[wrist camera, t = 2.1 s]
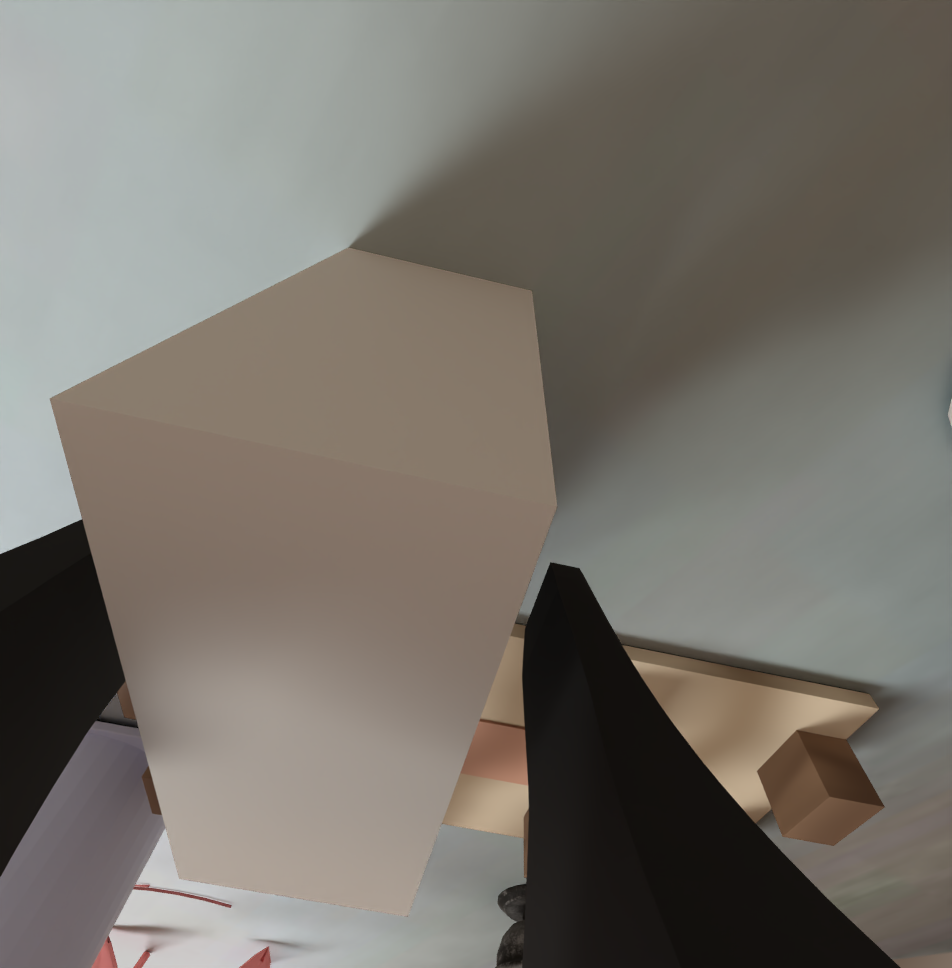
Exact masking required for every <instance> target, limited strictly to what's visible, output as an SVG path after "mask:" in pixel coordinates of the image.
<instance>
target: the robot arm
mask: <svg viewBox="0 0 952 968" xmlns="http://www.w3.org/2000/svg"><path fill="white" fill-rule="evenodd" d="M125 681H126V679H125V676H124V672H123V668H122V665H121V661H120V657H119V653H118V650H117V646H116V642H115V639H114V635H113V631H112V627H111V624H110V620H109V616H108V613H107V609H106V605H105V601H104V598H103V594H102V590H101V587H100V583H99V579H98V576H97V572H96V568H95V564H94V561H93V557H92V553H91V550H90V546H89V542H88V538H87V535H86V531H85V527H84V524H83V520H79V521H77V522H75V523H73V524H70V525H68V526H66V527H64V528H61V529H59V530H57V531H55V532H52V533H50V534H48V535H46V536H43V537H41V538H39V539H36V540H34V541H31V542H29V543H26V544H24V545H21V546H19V547H17V548H14V549H12V550H9V551H7V552H4V553H2V554H0V968H91V967H92V966H93V964H94V962H95V960H96V958H97V956H98V954H99V952H100V950H101V949H102V947H103V945H104V943H105V941H106V939H107V937H108V935H109V933H110V932H111V930H112V928H113V926H114V924H115V922H116V920H117V918H118V916H119V914H120V913H121V911H122V909H123V907H124V905H125V903H126V901H127V899H128V897H129V896H130V894H131V892H132V890H133V888H134V886H135V884H136V882H137V880H138V878H139V877H140V875H141V873H142V871H143V869H144V867H145V865H146V863H147V861H148V860H149V858H150V856H151V854H152V852H153V850H154V848H155V846H156V844H157V843H158V841H159V839H160V837H161V835H162V833H163V831H164V829H165V824H164V820H163V817H162V815H157V814H152V811H151V808H150V804H149V801H148V797H147V794H146V790H145V787H144V783H143V780H142V775H143V774H144V772H145V771H146V769H147V767H148V766H149V765H148V761H147V757H146V754H145V750H144V746H143V742H142V739H141V735H140V731H139V728H133V727H128V726H122V725H116V724H111V723H105V722H100V721H96V720H97V718H98V717H99V716H100V714H101V713H102V711H103V710H104V709H105V707H106V706H107V705H108V703H109V702H110V701H111V699H112V698H113V697H114V696H115V694H116V693H117V692H118V690H119V689H120V688H121V686H122V685H123V684H124V682H125ZM522 687H523V705H524V723H525V740H526V757H527V774H528V799H529V823H528V855H527V882H526V904H525V926H524V944H523V961H522V968H900V967H899V966H898V965H897V964H896V963H895V962H894V961H893V960H892V959H891V958H890V957H889V956H888V955H887V954H885V953H884V952H883V951H882V950H881V949H880V948H879V947H878V946H877V945H876V944H875V943H874V942H873V941H872V940H871V939H870V938H868V937H867V936H866V935H865V934H864V933H863V932H862V931H861V930H860V929H859V928H858V927H857V926H856V925H855V924H854V923H853V922H852V921H850V920H849V919H848V918H847V917H846V916H845V915H844V914H843V913H842V912H841V911H840V910H839V909H838V908H837V907H836V906H835V905H833V904H832V903H831V902H830V901H829V900H828V899H827V898H826V897H825V896H824V895H823V894H822V893H821V892H820V891H819V890H818V888H817V887H816V886H815V885H814V884H813V883H812V882H811V881H810V880H809V879H808V878H807V877H806V876H805V875H804V874H803V873H802V872H801V871H800V870H799V869H798V868H797V867H796V866H795V865H794V864H793V863H792V862H791V861H790V860H789V859H788V858H787V857H786V856H785V855H784V854H783V853H782V852H781V850H780V849H779V848H778V847H777V846H776V845H775V844H774V843H773V842H772V841H771V840H770V839H769V838H768V836H767V835H766V834H765V833H764V832H763V831H762V830H761V829H760V828H759V827H758V826H757V825H756V823H755V822H754V821H753V820H752V819H751V818H750V817H749V816H748V814H747V813H746V812H745V811H744V810H743V809H742V807H741V806H740V805H739V804H738V803H737V802H736V801H735V799H734V798H733V797H732V796H731V795H730V794H729V793H728V791H727V790H726V789H725V788H724V787H723V786H722V785H721V783H720V782H719V781H718V780H717V779H716V777H715V776H714V775H713V774H712V772H711V771H710V770H709V769H708V768H707V766H706V765H705V764H704V763H703V761H702V760H701V759H700V758H699V756H698V755H697V754H696V752H695V751H694V750H693V749H692V747H691V746H690V745H689V743H688V742H687V741H686V739H685V738H684V737H683V736H682V734H681V733H680V732H679V730H678V729H677V728H676V726H675V725H674V724H673V722H672V721H671V720H670V718H669V717H668V715H667V714H666V713H665V711H664V710H663V708H662V707H661V706H660V704H659V703H658V701H657V700H656V698H655V697H654V695H653V694H652V692H651V691H650V689H649V688H648V686H647V685H646V683H645V682H644V680H643V678H642V677H641V675H640V674H639V672H638V670H637V669H636V667H635V666H634V664H633V662H632V661H631V659H630V657H629V656H628V654H627V652H626V651H625V649H624V647H623V646H622V644H621V642H620V641H619V639H618V637H617V636H616V634H615V632H614V630H613V629H612V627H611V625H610V623H609V622H608V620H607V618H606V616H605V614H604V612H603V611H602V609H601V607H600V605H599V603H598V601H597V600H596V598H595V596H594V594H593V592H592V590H591V588H590V586H589V585H588V583H587V581H586V579H585V577H584V575H583V573H582V572H581V570H580V569H579V568H575V567H571V566H566V565H561V564H556V563H551V562H550V565H549V568H548V570H547V573H546V575H545V578H544V581H543V583H542V586H541V588H540V591H539V594H538V596H537V599H536V601H535V604H534V607H533V609H532V612H531V614H530V617H529V620H528V622H527V625H526V627H525V634H524V648H523V666H522Z"/></svg>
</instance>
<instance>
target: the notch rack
mask: <svg viewBox="0 0 952 968" xmlns="http://www.w3.org/2000/svg"><path fill="white" fill-rule="evenodd" d="M525 627H526V626H524V625H519V624H514V627H513V629H512V632H511V635H510V638H509V640H508V643H507V646H506V649H505V651H504V654H503V657H502V660H501V662H500V665H499V668H498V671H497V673H496V676H495V679H494V682H493V684H492V687H491V690H490V693H489V695H488V698H487V701H486V704H485V706H484V709H483V712H482V715H481V717H480V720H479V723H478V726H477V728H476V731H475V734H474V737H473V739H472V742H471V745H470V748H469V750H468V753H467V756H466V759H465V761H464V764H463V767H462V770H461V772H460V775H459V778H458V781H457V783H456V786H455V789H454V792H453V794H452V797H451V800H450V802H449V805H448V808H447V811H446V813H445V816H444V819H443V822H442V824H446V825H452V826H458V827H463V828H469V829H475V830H480V831H486V832H492V833H497V834H503V835H509V836H514V837H520V838H524V877H525V878H527V855H528V823H529V799H528V774H527V757H526V740H525V723H524V705H523V687H522V666H523V648H524V634H525ZM622 646H623V647H624V649H625V651H626V652H627V654H628V656H629V657H630V659H631V661H632V662H633V664H634V666H635V667H636V669H637V670H638V672H639V674H640V675H641V677H642V678H643V680H644V682H645V683H646V685H647V686H648V688H649V689H650V691H651V692H652V694H653V695H654V697H655V698H656V700H657V701H658V703H659V704H660V706H661V707H662V708H663V710H664V711H665V713H666V714H667V715H668V717H669V718H670V720H671V721H672V722H673V724H674V725H675V726H676V728H677V729H678V730H679V732H680V733H681V734H682V736H683V737H684V738H685V739H686V741H687V742H688V743H689V745H690V746H691V747H692V749H693V750H694V751H695V752H696V754H697V755H698V756H699V758H700V759H701V760H702V761H703V763H704V764H705V765H706V766H707V768H708V769H709V770H710V771H711V772H712V774H713V775H714V776H715V777H716V779H717V780H718V781H719V782H720V783H721V785H722V786H723V787H724V788H725V789H726V790H727V791H728V793H729V794H730V795H731V796H732V797H733V798H734V799H735V801H736V802H737V803H738V804H739V805H740V806H741V807H742V809H743V810H744V811H745V812H746V813H747V814H748V816H749V817H750V818H751V819H752V820H753V821H754V822H755V823H757V822H758V821H759V820H760V819H761V818H762V817H763V816H764V815H765V814H766V813H767V812H769V811H770V810H771V809H772V811H773V813H774V816H775V818H776V821H777V823H778V826H779V829H780V831H781V834H782V836H783V837H788V838H793V839H799V840H804V841H810V842H815V843H821V844H826V845H832V846H834V845H835V844H837V843H838V842H839V841H841V840H842V839H843V838H845V837H846V836H847V835H848V834H850V833H851V832H852V831H854V830H855V829H856V828H858V827H859V826H860V825H862V824H863V823H864V822H866V821H867V820H868V819H870V818H871V817H872V816H874V815H875V814H876V813H878V812H879V811H880V810H882V809H883V808H884V805H883V803H882V801H881V800H880V798H879V796H878V794H877V793H876V791H875V789H874V787H873V786H872V784H871V782H870V780H869V779H868V777H867V775H866V773H865V772H864V770H863V768H862V766H861V765H860V763H859V761H858V759H857V758H856V756H855V754H854V752H853V751H852V749H851V747H850V745H849V744H848V742H847V740H846V739H847V738H848V737H849V736H850V735H852V734H853V733H854V732H855V731H856V730H857V729H858V728H859V727H860V726H861V725H862V724H863V723H865V722H866V721H867V720H868V719H869V718H870V717H871V716H872V715H873V714H874V713H875V712H876V711H877V710H879V708H878V706H877V705H876V703H875V702H874V700H873V699H872V697H871V696H870V694H866V693H861V692H856V691H851V690H846V689H841V688H836V687H831V686H826V685H821V684H816V683H811V682H806V681H801V680H796V679H791V678H786V677H781V676H776V675H771V674H766V673H761V672H756V671H751V670H746V669H741V668H736V667H731V666H726V665H721V664H715V663H710V662H705V661H700V660H695V659H690V658H685V657H680V656H675V655H670V654H665V653H660V652H655V651H650V650H645V649H640V648H635V647H630V646H625V645H622ZM117 694H118V697H119V701H120V704H121V707H122V711H123V714H124V718H130V719H136V716H135V713H134V709H133V705H132V702H131V698H130V694H129V690H128V687H127V683H126V681H125V682H124V684H123V685H122V686H121V688H120V689H119V690H118V692H117ZM142 780H143V783H144V787H145V790H146V794H147V797H148V801H149V804H150V808H151V811H152V814H157V815H162V813H161V809H160V805H159V802H158V798H157V794H156V791H155V787H154V783H153V779H152V776H151V772H150V768H149V766H148V767H147V769H146V771H145V772H144V774H143V775H142Z"/></svg>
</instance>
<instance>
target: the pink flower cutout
mask: <svg viewBox="0 0 952 968" xmlns="http://www.w3.org/2000/svg"><path fill="white" fill-rule="evenodd" d="M135 886H138V887H134V888H133V889H136V890H148V891H155V892H162V893H168V894H175V895H180V896H185V897H190V898H194V899H199V900H204V901H207V902H211V903H215V904H218V905H222V906H225V907H229V908H231V906H232V905H229V904H225V903H222V902H218V901H214V900H211V899H207V898H203V897H198V896H194V895H189V894H185V893H180V892H174V891H167V890H161V889H154V888H145V887H149V886H150V885H135ZM149 956H150V954H149V952H147V951H146V952H144V953H143V954H142V956H141V957H140V959H139V960H138V962H137V963H136V965H135V966H134V968H142V966H143V965H144V963H145V962H146V960H147V959H148V957H149ZM270 963H271V960H270V952H269V946H268V947H267V948H265V949H263V950H262V951H260V952H259V953H257V954H255V955H254V956H253V957H252V959H251V958H250V959H249V960H248V961H247V963H246V962H245V963H244V964H243V965H242V966H240V967H241V968H270ZM240 967H239V968H240ZM91 968H117V963H116V959H115V955H114V951H113V947H112V944H111V941H110V938H109V936H108V937H107V939H106V941H105V943H104V945H103V947H102V949H101V950H100V952H99V954H98V956H97V958H96V960H95V962H94V964H93V966H92V967H91Z"/></svg>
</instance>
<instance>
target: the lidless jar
mask: <svg viewBox="0 0 952 968" xmlns="http://www.w3.org/2000/svg"><path fill="white" fill-rule="evenodd" d="M948 417H949V420H950V423H951V426H952V399H951V403H950V408H949V412H948Z"/></svg>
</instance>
